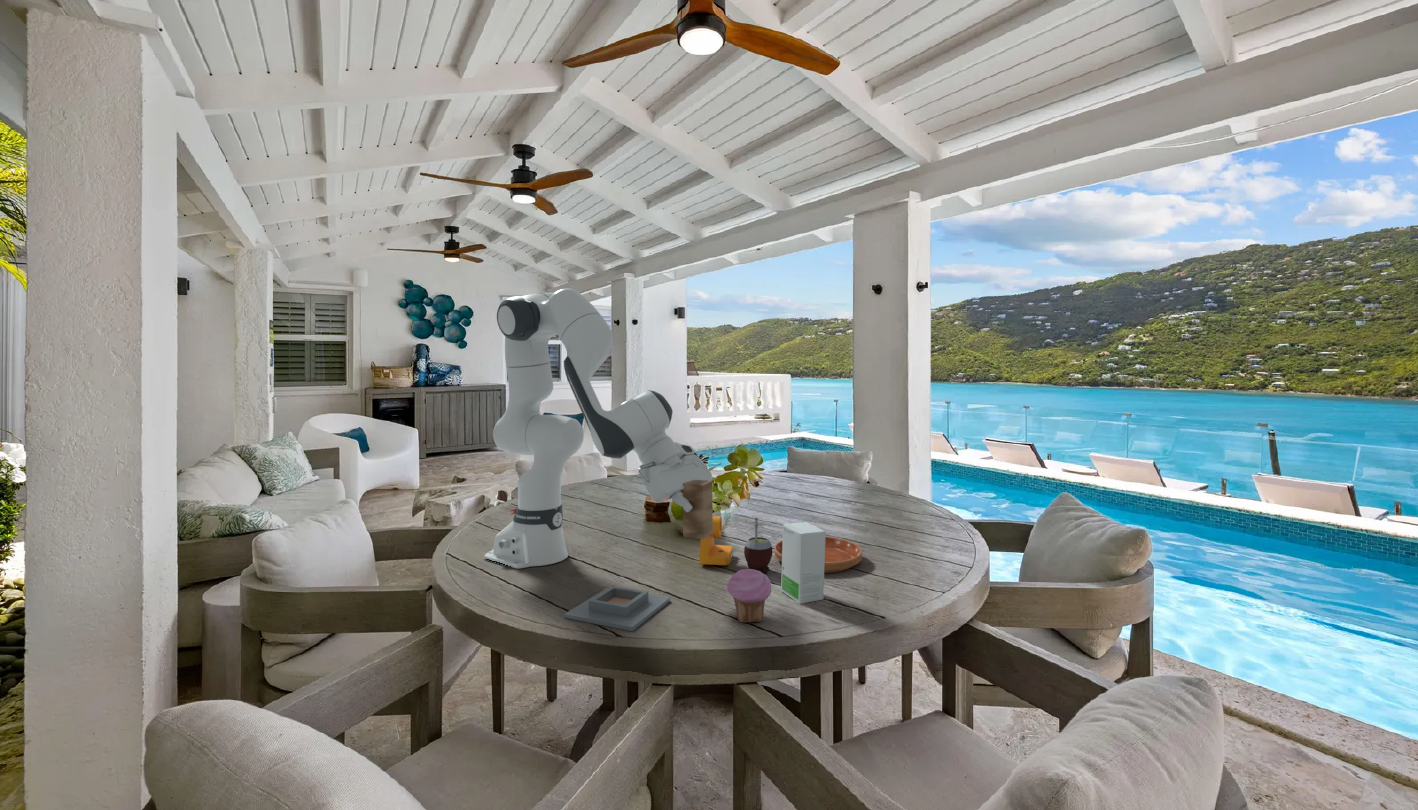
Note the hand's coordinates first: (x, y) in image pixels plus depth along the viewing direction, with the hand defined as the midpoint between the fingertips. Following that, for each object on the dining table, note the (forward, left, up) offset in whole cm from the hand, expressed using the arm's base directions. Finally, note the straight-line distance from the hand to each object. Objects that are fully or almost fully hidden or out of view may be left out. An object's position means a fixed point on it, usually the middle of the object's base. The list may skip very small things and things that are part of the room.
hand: (699, 506), depth 127 cm
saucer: (+19, +34, -20) cm, 44 cm away
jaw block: (-1, 0, -7) cm, 7 cm away
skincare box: (+21, +8, -20) cm, 31 cm away
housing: (-13, -14, -20) cm, 27 cm away
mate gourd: (+7, +19, -20) cm, 29 cm away
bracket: (-6, +23, -20) cm, 31 cm away
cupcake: (+14, -8, -20) cm, 26 cm away
